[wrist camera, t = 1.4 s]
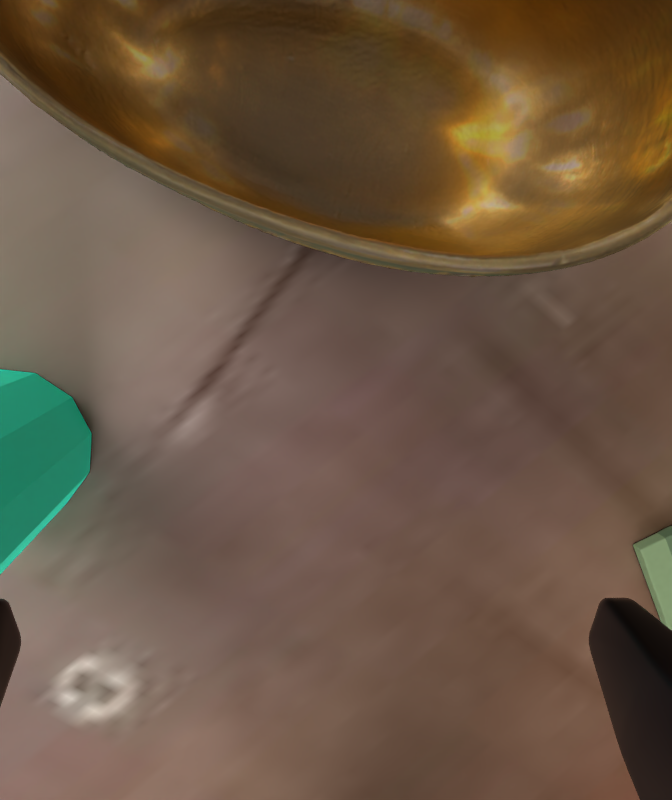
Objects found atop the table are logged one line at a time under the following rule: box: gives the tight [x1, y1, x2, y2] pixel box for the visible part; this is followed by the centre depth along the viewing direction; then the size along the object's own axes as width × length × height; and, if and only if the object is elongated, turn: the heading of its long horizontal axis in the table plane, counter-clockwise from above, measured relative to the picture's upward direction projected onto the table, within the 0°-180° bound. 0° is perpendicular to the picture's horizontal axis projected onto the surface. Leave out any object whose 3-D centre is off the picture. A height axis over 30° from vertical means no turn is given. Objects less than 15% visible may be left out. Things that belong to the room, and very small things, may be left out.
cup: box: [0, 0, 672, 277], centre depth 16 cm, size 13×20×10 cm, turn 49°
